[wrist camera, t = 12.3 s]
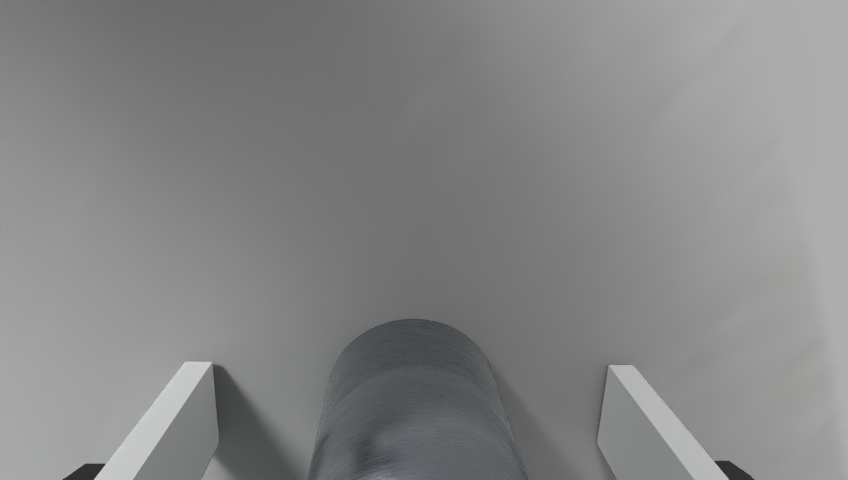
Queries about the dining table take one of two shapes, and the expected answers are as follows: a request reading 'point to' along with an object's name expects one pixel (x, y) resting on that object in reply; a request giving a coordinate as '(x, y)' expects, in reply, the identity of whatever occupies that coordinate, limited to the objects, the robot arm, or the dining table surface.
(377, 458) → the grey tin
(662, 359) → the dining table surface
